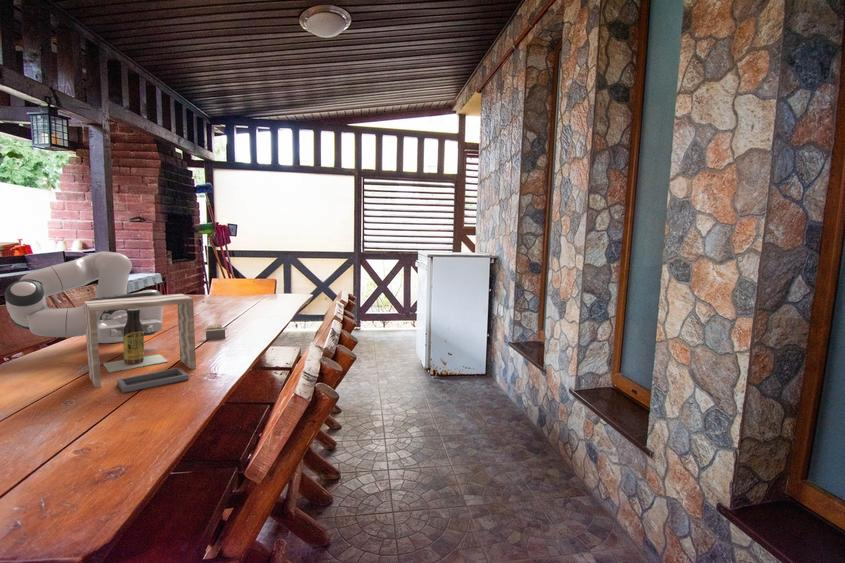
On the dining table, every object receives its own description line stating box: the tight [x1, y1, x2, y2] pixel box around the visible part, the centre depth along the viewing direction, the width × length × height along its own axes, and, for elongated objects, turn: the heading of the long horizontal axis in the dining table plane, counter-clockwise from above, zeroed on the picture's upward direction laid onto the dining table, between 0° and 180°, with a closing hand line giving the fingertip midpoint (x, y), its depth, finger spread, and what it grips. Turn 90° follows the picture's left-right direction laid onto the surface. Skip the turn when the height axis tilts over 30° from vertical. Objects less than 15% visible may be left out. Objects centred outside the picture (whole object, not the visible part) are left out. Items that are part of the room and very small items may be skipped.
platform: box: [202, 324, 229, 341], centre depth 196 cm, size 12×18×7 cm, turn 119°
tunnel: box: [83, 293, 197, 389], centre depth 148 cm, size 14×29×26 cm, turn 134°
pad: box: [102, 353, 169, 373], centre depth 159 cm, size 12×18×1 cm, turn 134°
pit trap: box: [116, 367, 189, 394], centre depth 140 cm, size 10×18×2 cm, turn 134°
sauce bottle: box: [123, 308, 145, 364], centre depth 157 cm, size 7×6×20 cm
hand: (134, 332), depth 157 cm, fingers open, 8 cm apart
